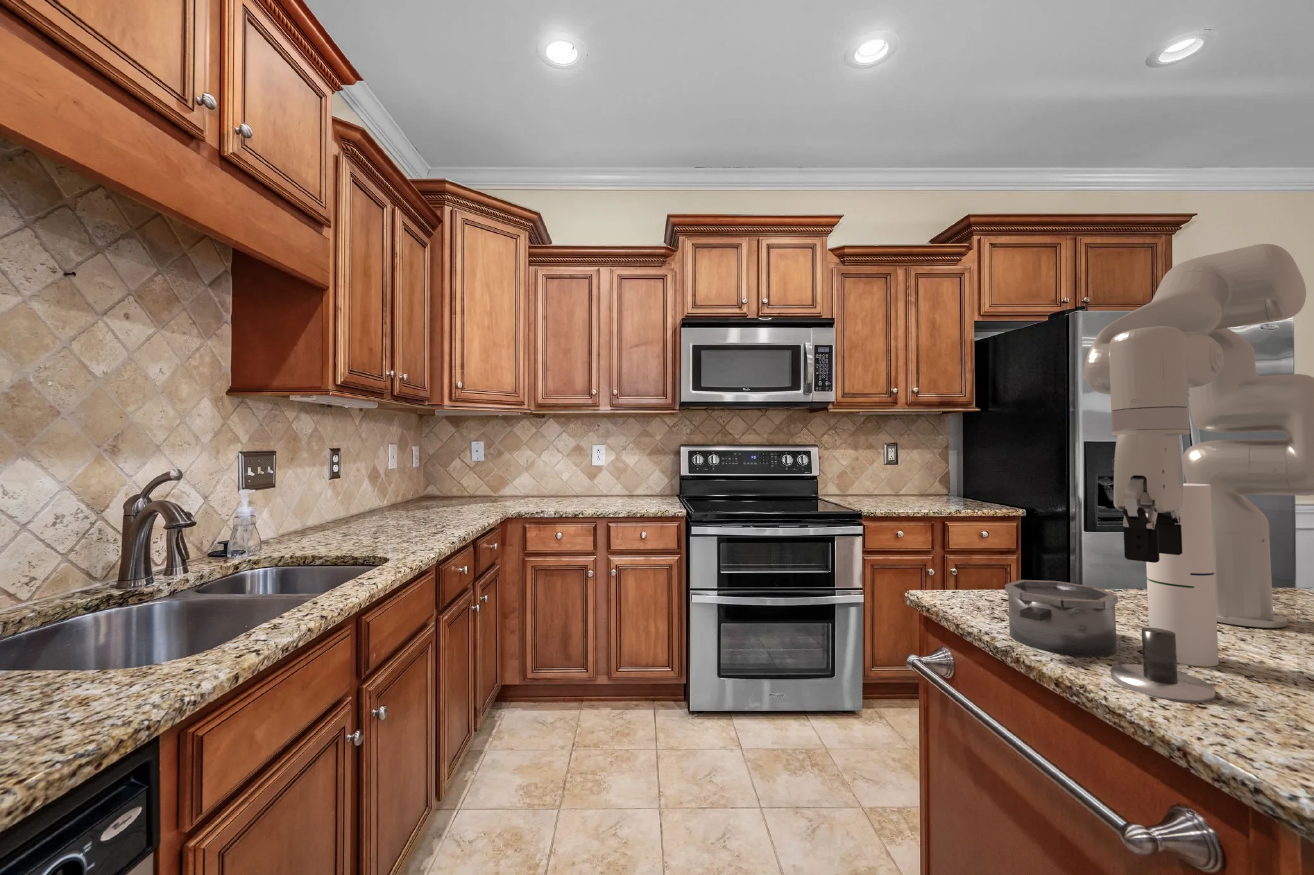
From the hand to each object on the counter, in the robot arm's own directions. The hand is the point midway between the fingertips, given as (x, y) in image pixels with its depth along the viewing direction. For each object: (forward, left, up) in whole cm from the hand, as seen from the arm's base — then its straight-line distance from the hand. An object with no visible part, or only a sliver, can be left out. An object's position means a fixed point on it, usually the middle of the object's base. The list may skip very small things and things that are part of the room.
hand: (1154, 557), depth 70 cm
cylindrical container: (-16, -1, -17) cm, 23 cm away
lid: (0, 0, -17) cm, 17 cm away
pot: (-9, -14, -16) cm, 23 cm away
